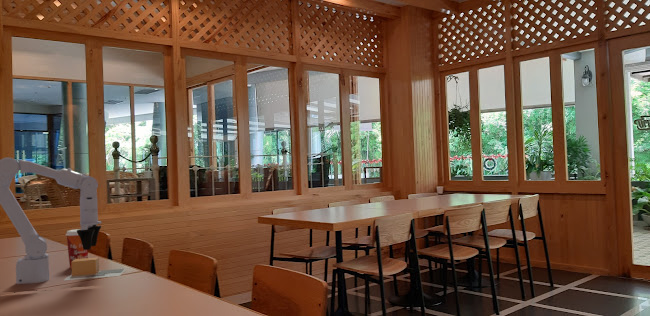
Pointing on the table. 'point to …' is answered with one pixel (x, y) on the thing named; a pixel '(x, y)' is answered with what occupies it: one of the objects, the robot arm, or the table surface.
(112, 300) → the table surface
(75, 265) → the block
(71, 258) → the coffee cup
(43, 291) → the table surface
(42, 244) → the robot arm
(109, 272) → the board
